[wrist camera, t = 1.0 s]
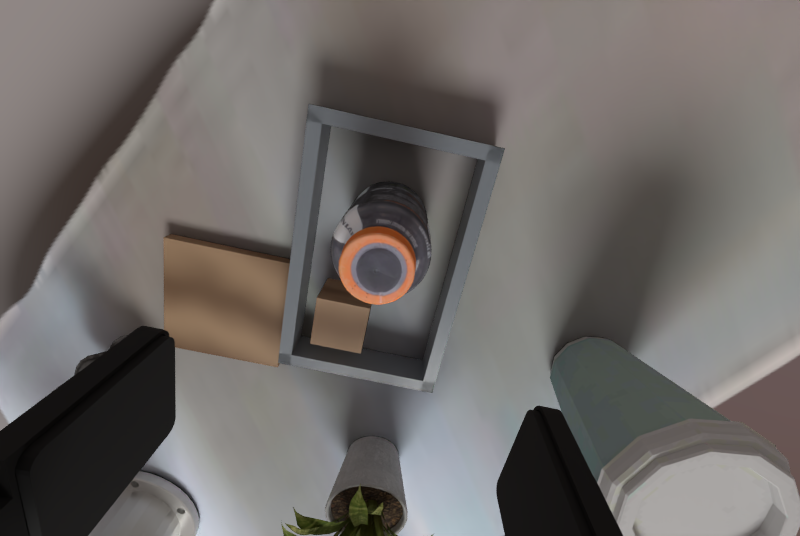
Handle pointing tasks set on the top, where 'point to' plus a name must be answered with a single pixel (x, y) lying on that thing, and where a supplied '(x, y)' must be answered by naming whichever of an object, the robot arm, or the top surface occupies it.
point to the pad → (224, 299)
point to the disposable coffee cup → (669, 451)
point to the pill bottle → (382, 244)
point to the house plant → (362, 494)
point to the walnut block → (339, 318)
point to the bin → (308, 202)
